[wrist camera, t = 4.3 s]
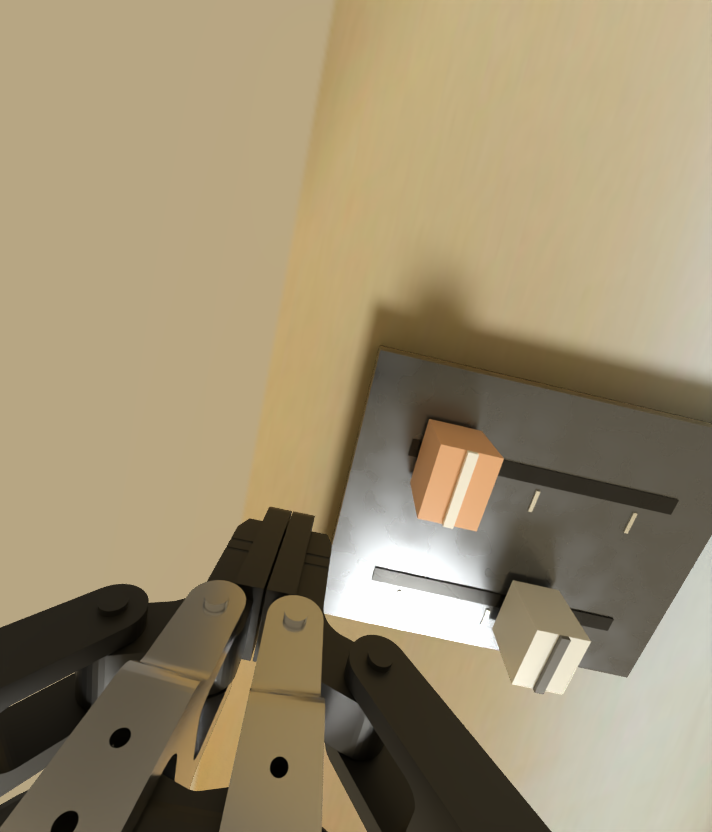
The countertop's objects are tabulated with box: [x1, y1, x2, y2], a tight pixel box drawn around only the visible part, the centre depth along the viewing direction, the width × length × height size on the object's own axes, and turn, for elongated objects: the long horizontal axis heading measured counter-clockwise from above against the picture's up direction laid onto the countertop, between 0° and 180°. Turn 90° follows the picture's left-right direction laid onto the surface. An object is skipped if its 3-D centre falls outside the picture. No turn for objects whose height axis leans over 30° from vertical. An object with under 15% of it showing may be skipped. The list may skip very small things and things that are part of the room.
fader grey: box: [492, 580, 591, 695], centre depth 23 cm, size 4×3×4 cm
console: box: [324, 345, 712, 677], centre depth 25 cm, size 18×22×2 cm
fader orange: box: [410, 419, 504, 532], centre depth 20 cm, size 4×3×4 cm
